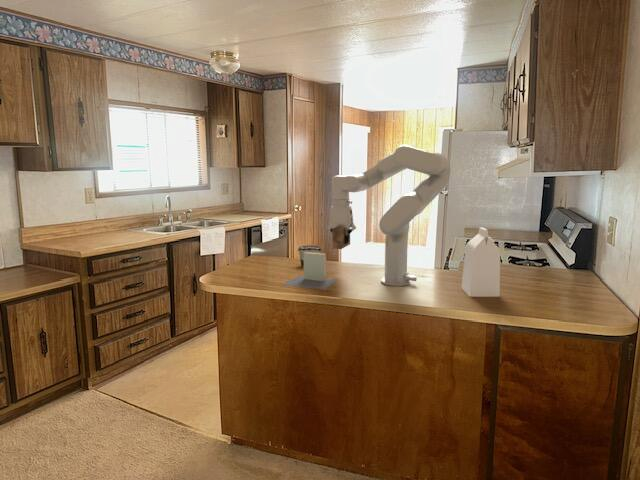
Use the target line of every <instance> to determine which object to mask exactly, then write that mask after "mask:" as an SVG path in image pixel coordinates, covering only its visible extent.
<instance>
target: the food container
mask: <svg viewBox="0 0 640 480" xmlns="http://www.w3.org/2000/svg"><path fill="white" fill-rule="evenodd" d="M297 252H298V254H299V263H300V267H303V268H304V252H314V253H322V252H323V249H322V247H321V246H320V245H314V244H309V245H306V244H305V245H301V246H298V249H297Z"/></svg>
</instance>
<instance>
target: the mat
mask: <svg viewBox="0 0 640 480" xmlns="http://www.w3.org/2000/svg"><path fill="white" fill-rule="evenodd" d="M339 280H340V279H338V278H329V277H328V278H327V280H326V281H317V280H308V279H304V275H301V274H300V275H299V274H298V275H296V276H295V277H293V278H292V279H289V280H287V281H286V282H284V283H283V284H282V286H287V287H297V288H306V289H315V290H322V291H323V290H326V289H328V288H329V287H331V286H332V285H334V284H335V283H337V282H338V281H339Z"/></svg>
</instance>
